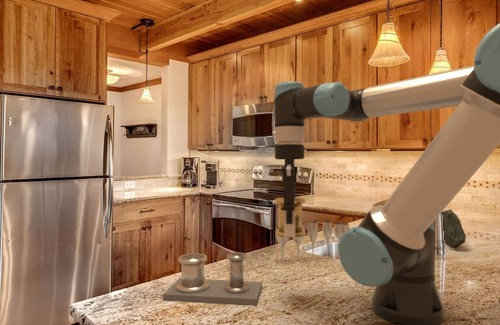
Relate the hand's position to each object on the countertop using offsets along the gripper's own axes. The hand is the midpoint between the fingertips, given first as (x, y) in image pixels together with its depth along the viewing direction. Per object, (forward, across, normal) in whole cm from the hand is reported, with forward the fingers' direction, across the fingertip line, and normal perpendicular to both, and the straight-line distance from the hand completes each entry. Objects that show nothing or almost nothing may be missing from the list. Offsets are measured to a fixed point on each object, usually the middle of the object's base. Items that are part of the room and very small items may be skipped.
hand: (290, 232), depth 91 cm
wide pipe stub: (+15, 0, -26) cm, 30 cm away
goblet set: (+17, -35, +7) cm, 39 cm away
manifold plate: (+17, 0, -20) cm, 26 cm away
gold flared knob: (0, 0, 0) cm, 0 cm away
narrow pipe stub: (+15, 0, -14) cm, 21 cm away
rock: (+17, -60, +61) cm, 88 cm away
